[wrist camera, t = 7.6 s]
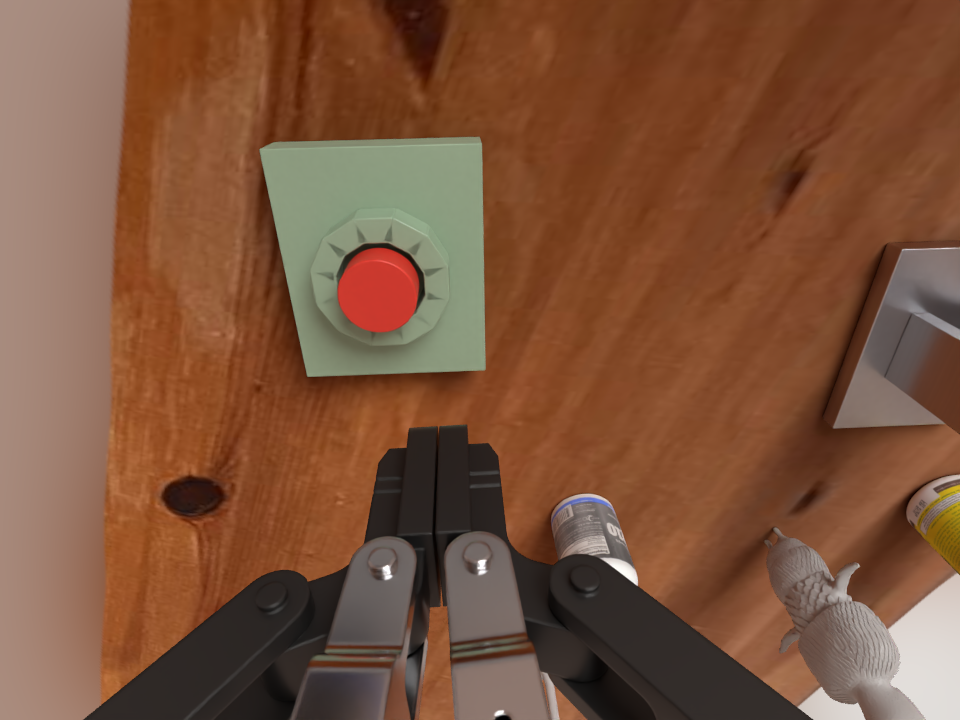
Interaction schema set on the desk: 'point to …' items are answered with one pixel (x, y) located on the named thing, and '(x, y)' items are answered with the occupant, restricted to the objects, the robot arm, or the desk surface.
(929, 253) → the lever stand
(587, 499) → the pill bottle
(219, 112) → the desk surface
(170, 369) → the desk surface
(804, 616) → the figurine
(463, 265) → the button block
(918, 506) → the supplement bottle
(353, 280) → the red button
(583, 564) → the robot arm
